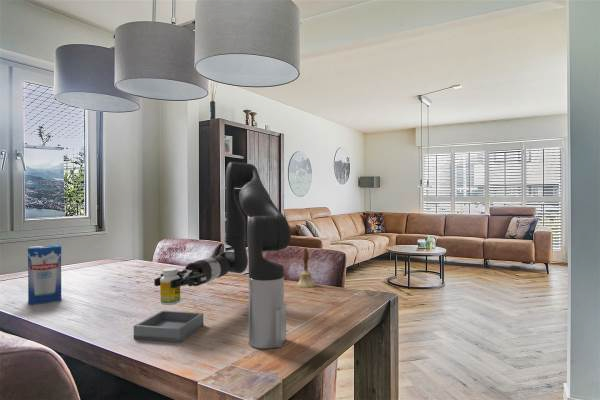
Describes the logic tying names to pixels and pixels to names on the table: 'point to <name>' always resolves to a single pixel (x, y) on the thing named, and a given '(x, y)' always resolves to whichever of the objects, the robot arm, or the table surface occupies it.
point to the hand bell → (305, 273)
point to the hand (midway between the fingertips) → (163, 283)
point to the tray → (168, 326)
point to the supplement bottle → (169, 287)
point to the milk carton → (44, 274)
